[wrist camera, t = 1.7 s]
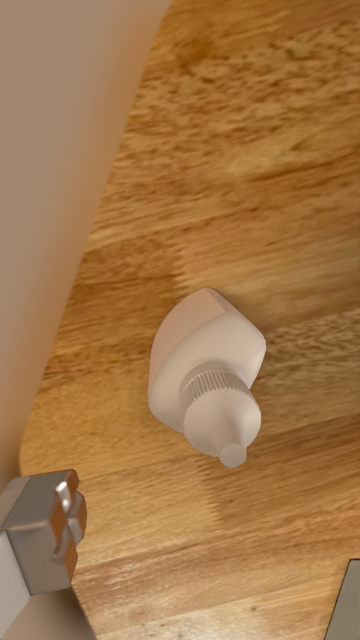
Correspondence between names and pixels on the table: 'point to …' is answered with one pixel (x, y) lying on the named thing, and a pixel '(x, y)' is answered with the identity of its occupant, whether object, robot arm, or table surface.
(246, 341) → the eye dropper bottle
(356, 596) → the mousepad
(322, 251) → the table surface
